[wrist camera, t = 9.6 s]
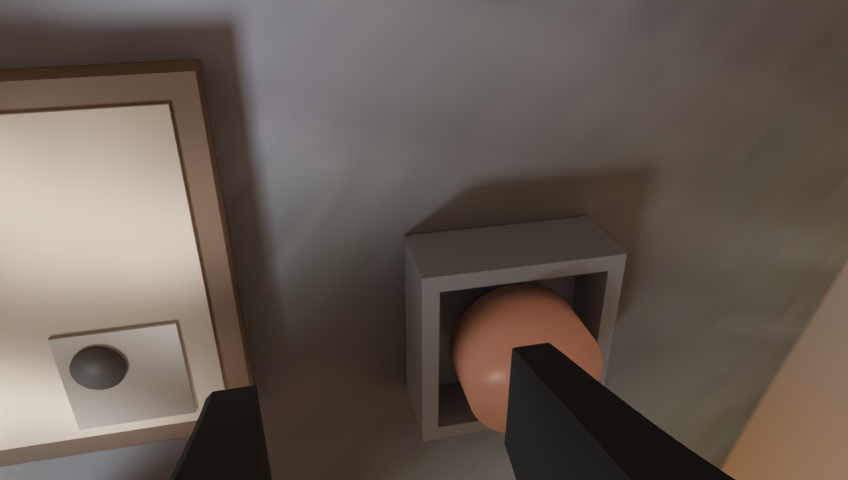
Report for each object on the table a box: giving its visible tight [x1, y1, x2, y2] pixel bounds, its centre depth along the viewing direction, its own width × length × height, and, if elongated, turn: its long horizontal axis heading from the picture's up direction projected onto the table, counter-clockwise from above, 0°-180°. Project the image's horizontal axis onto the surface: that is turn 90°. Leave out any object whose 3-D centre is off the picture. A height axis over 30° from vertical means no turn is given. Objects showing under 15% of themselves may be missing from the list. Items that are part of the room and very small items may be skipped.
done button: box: [449, 283, 603, 433], centre depth 19 cm, size 4×4×2 cm
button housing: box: [404, 216, 627, 442], centre depth 20 cm, size 6×6×2 cm
